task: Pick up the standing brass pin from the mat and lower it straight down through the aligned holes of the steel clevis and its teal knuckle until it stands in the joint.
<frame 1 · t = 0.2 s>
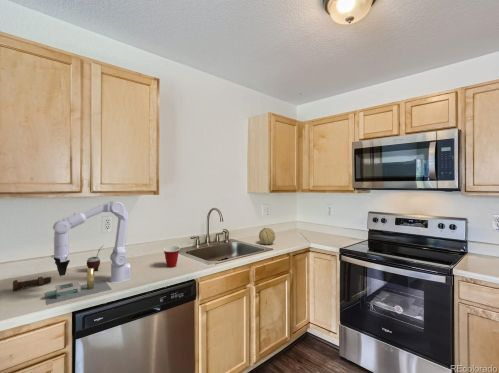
hand: (61, 273, 126), 10 cm above the worktop, tool pointing down, fingers open, 7 cm apart
cantaloupe: (266, 244, 232), on the worktop
bolt: (32, 287, 133), on the worktop
plastic cup: (171, 266, 168), on the worktop
mat: (78, 292, 128), on the worktop
clevis: (66, 293, 124), resting on mat
pin: (90, 288, 131), resting on mat
mate gourd: (94, 270, 159), on the worktop
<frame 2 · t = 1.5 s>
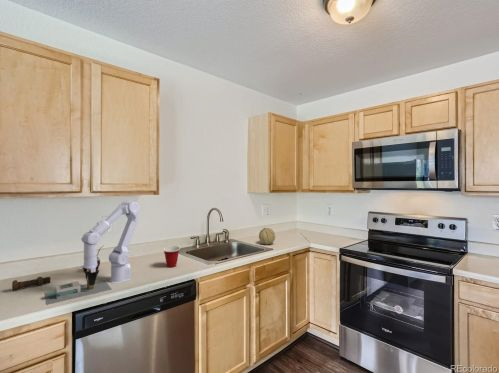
hand: (90, 282, 131), 3 cm above the worktop, tool pointing down, fingers open, 7 cm apart
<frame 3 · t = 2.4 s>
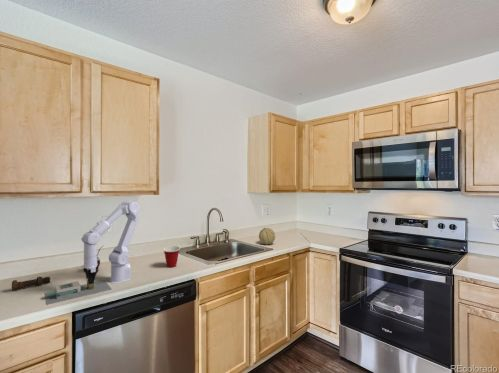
hand: (90, 282, 131), 3 cm above the worktop, tool pointing down, fingers closed on pin, 3 cm apart
pin: (90, 288, 131), resting on mat, touching gripper
everything else where it was.
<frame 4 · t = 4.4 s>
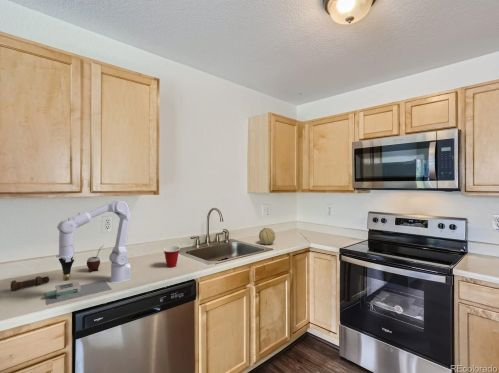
hand: (66, 273, 124), 10 cm above the worktop, tool pointing down, fingers closed on pin, 3 cm apart
pin: (66, 279, 124), point 7 cm above the worktop, touching gripper
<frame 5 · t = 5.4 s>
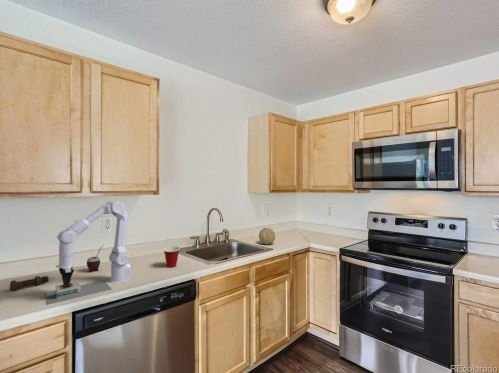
hand: (66, 283, 124), 6 cm above the worktop, tool pointing down, fingers closed on pin, 3 cm apart
pin: (66, 289, 124), point 3 cm above the worktop, touching gripper
when the fingers open (5 cm above the worktop, at t = 6.3 s): pin drops 1 cm, resting on mat.
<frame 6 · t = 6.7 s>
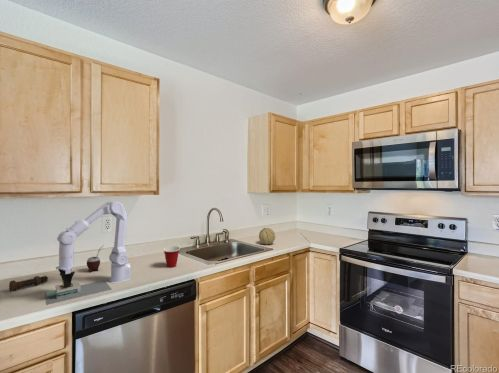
hand: (66, 284, 124), 5 cm above the worktop, tool pointing down, fingers open, 6 cm apart
pin: (66, 293, 124), resting on mat
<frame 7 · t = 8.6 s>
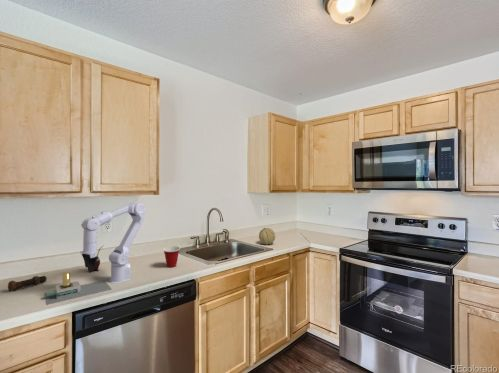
hand: (89, 269, 131), 10 cm above the worktop, tool pointing down, fingers open, 7 cm apart
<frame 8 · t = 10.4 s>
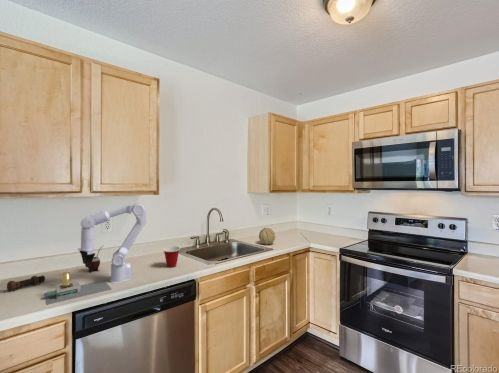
hand: (86, 265, 137), 10 cm above the worktop, tool pointing down, fingers open, 7 cm apart
at the end: pin 0.0 cm off-centre on the clevis, point 0.0 cm above the clevis's base; pin tilted 1°; the gripper is holding nothing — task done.
